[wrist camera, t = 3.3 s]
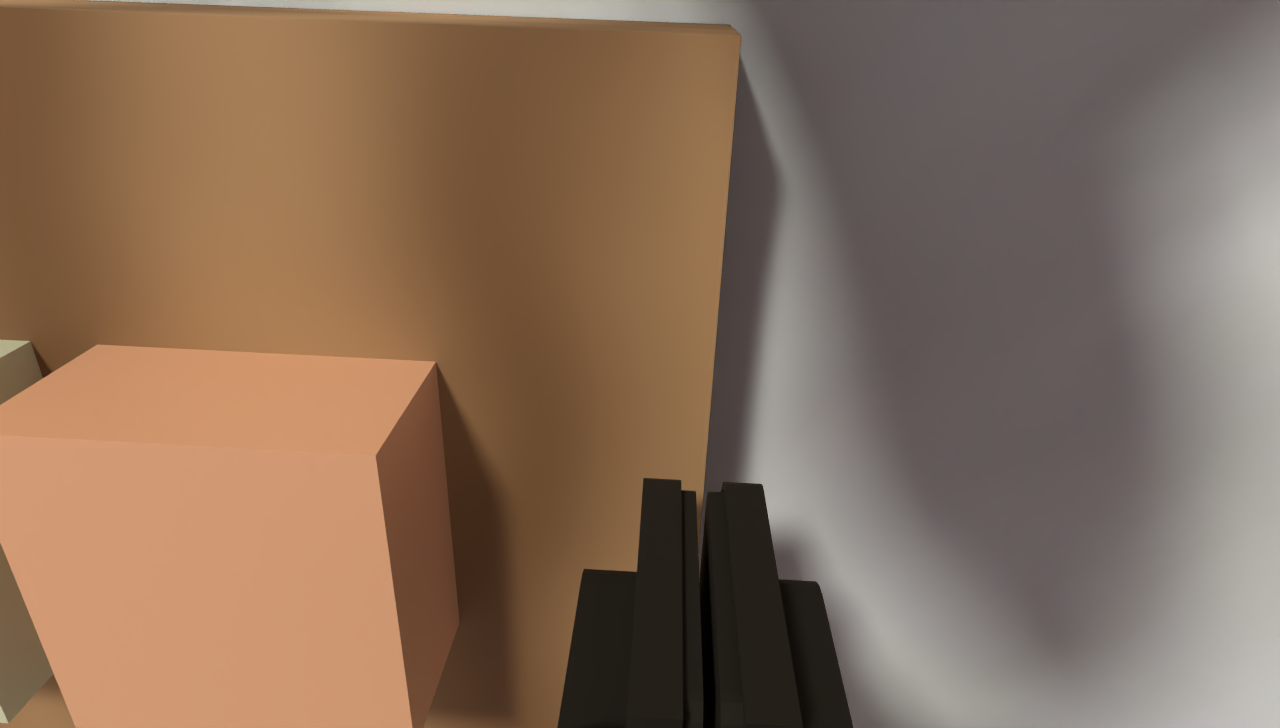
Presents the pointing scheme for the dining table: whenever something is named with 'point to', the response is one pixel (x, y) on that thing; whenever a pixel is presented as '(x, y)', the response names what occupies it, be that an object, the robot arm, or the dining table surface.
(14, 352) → the tile
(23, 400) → the tile
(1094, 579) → the dining table surface
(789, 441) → the dining table surface
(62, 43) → the walnut plate
